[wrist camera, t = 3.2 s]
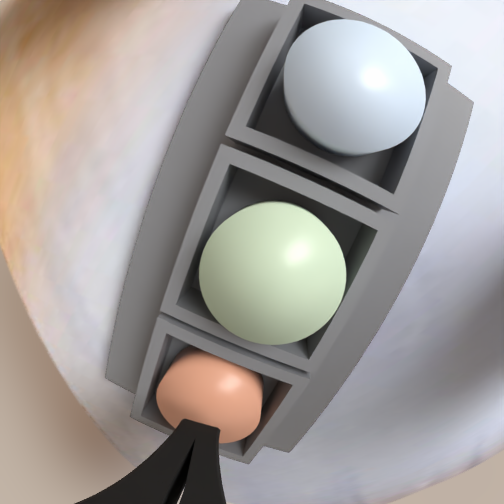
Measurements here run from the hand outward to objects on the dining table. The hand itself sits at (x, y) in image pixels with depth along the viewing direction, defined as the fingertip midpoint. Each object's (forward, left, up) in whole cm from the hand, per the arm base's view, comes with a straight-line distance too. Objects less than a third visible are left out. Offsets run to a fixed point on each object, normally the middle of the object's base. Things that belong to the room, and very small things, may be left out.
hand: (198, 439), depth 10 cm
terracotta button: (0, 0, -4) cm, 4 cm away
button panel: (0, -6, -5) cm, 8 cm away
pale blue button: (0, -13, -3) cm, 13 cm away
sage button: (0, -6, -3) cm, 7 cm away
